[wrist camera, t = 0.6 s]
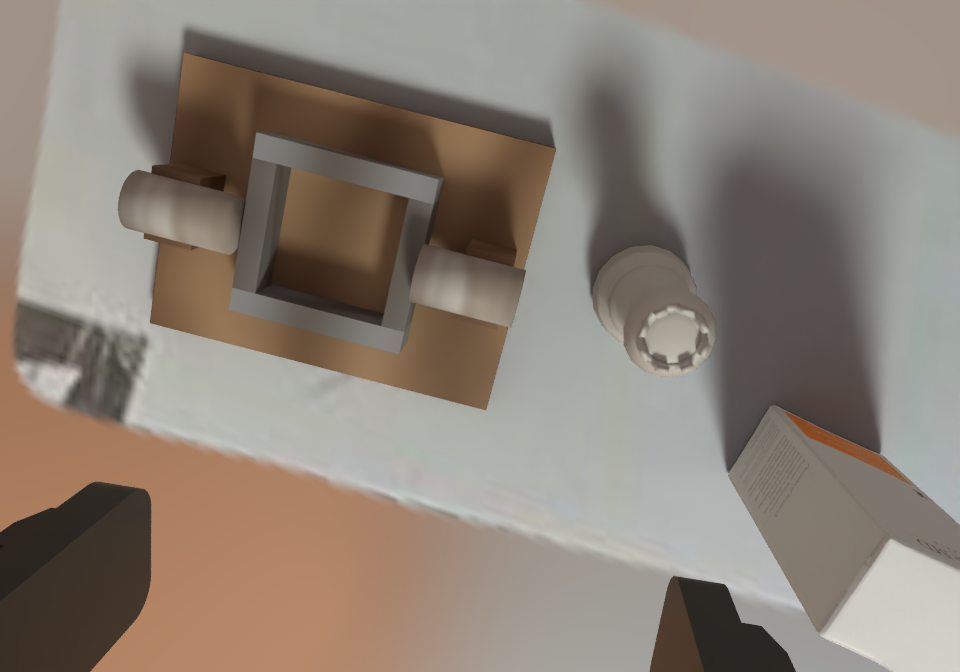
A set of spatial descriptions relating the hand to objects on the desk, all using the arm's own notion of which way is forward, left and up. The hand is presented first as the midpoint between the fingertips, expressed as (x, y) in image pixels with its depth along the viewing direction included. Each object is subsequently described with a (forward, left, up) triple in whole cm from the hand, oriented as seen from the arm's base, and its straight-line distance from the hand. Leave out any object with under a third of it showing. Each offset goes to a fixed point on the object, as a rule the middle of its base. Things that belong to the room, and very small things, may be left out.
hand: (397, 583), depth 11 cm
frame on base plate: (+7, -1, -23) cm, 24 cm away
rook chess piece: (-7, -1, -23) cm, 24 cm away
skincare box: (-16, +4, -23) cm, 29 cm away
